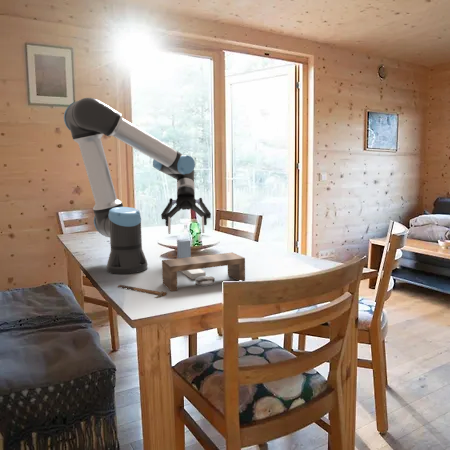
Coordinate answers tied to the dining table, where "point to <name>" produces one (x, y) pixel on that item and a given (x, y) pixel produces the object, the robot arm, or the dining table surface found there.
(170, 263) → the bench
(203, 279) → the disc
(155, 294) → the tomahawk
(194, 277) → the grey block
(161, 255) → the dining table surface
